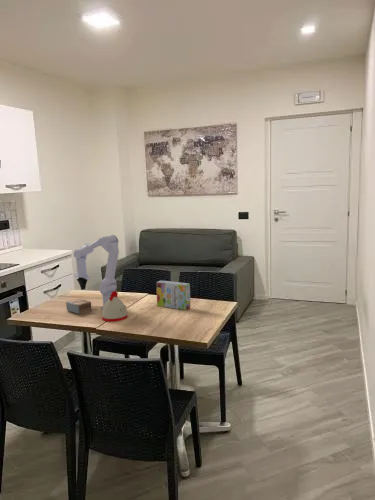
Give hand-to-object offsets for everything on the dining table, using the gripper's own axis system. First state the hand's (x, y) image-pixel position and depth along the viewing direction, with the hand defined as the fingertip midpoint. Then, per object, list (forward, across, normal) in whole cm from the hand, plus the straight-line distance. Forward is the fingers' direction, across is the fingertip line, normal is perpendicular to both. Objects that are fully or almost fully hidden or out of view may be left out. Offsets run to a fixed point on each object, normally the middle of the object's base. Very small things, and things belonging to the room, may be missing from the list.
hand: (83, 289), depth 254 cm
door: (+9, +10, -14) cm, 19 cm away
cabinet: (+9, +10, -9) cm, 16 cm away
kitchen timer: (+10, +38, -4) cm, 39 cm away
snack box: (+10, +50, +30) cm, 59 cm away
